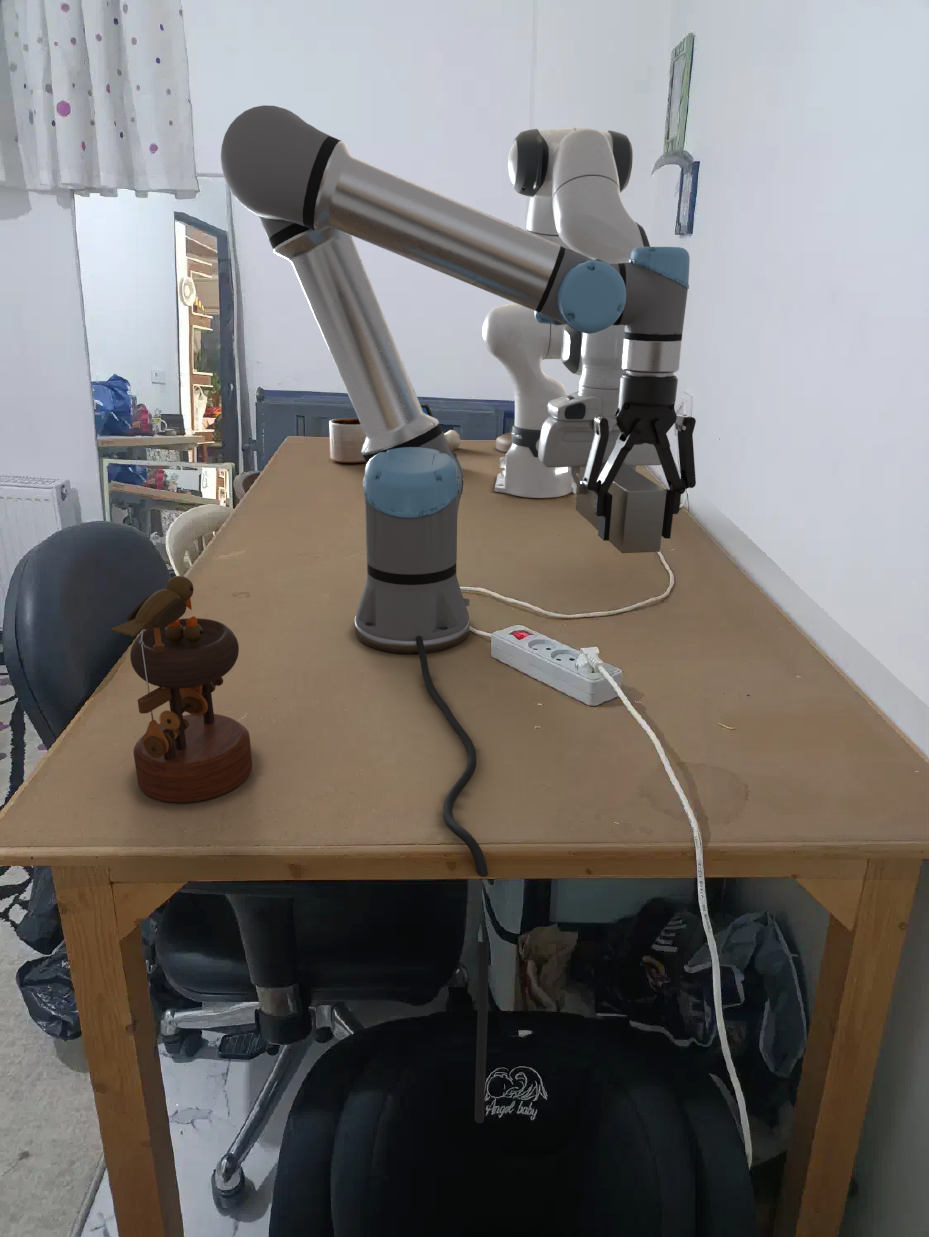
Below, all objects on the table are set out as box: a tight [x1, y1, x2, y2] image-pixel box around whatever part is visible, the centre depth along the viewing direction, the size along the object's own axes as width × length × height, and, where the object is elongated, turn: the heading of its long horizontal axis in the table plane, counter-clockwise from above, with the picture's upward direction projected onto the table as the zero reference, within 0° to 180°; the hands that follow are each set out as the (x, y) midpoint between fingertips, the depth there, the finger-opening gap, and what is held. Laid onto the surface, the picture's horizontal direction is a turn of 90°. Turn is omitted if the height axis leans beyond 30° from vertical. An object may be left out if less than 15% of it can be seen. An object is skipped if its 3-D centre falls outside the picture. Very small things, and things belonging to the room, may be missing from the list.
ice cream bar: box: [495, 431, 512, 453], centre depth 224 cm, size 21×28×4 cm
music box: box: [111, 575, 253, 803], centre depth 78 cm, size 15×11×20 cm
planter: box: [328, 417, 366, 464], centre depth 212 cm, size 11×11×10 cm
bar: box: [575, 463, 666, 554], centre depth 127 cm, size 23×6×9 cm, turn 9°
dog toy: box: [443, 429, 462, 450], centre depth 228 cm, size 20×6×5 cm, turn 99°
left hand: (633, 536), depth 121 cm, fingers open, 8 cm apart
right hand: (599, 493), depth 135 cm, fingers closed on bar, 5 cm apart
